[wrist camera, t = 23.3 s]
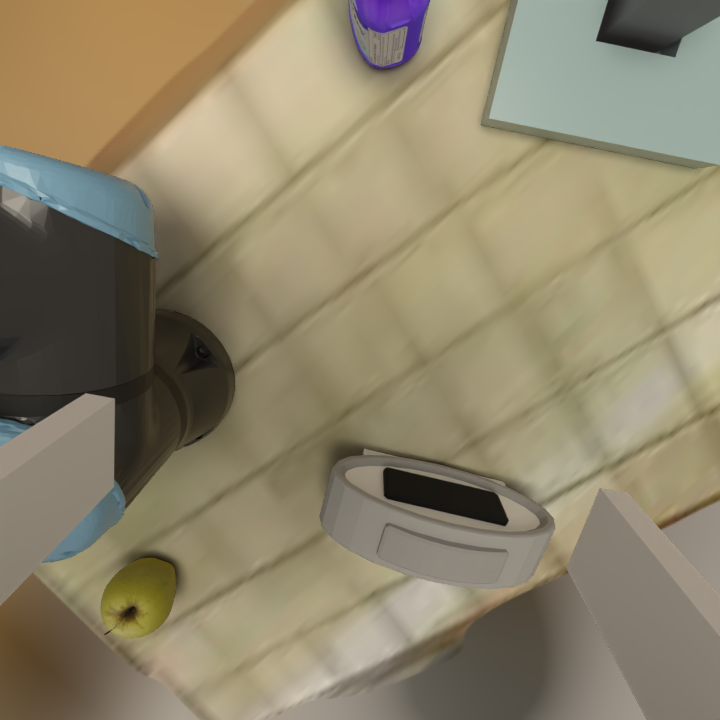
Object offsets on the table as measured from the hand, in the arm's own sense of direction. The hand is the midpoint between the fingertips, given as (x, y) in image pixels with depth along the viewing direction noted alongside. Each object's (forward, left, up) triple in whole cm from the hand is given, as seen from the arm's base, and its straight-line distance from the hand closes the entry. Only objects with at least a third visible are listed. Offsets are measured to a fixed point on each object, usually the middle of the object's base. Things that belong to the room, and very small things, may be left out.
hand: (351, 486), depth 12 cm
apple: (-20, -41, -35) cm, 57 cm away
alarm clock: (+11, -21, -35) cm, 42 cm away
